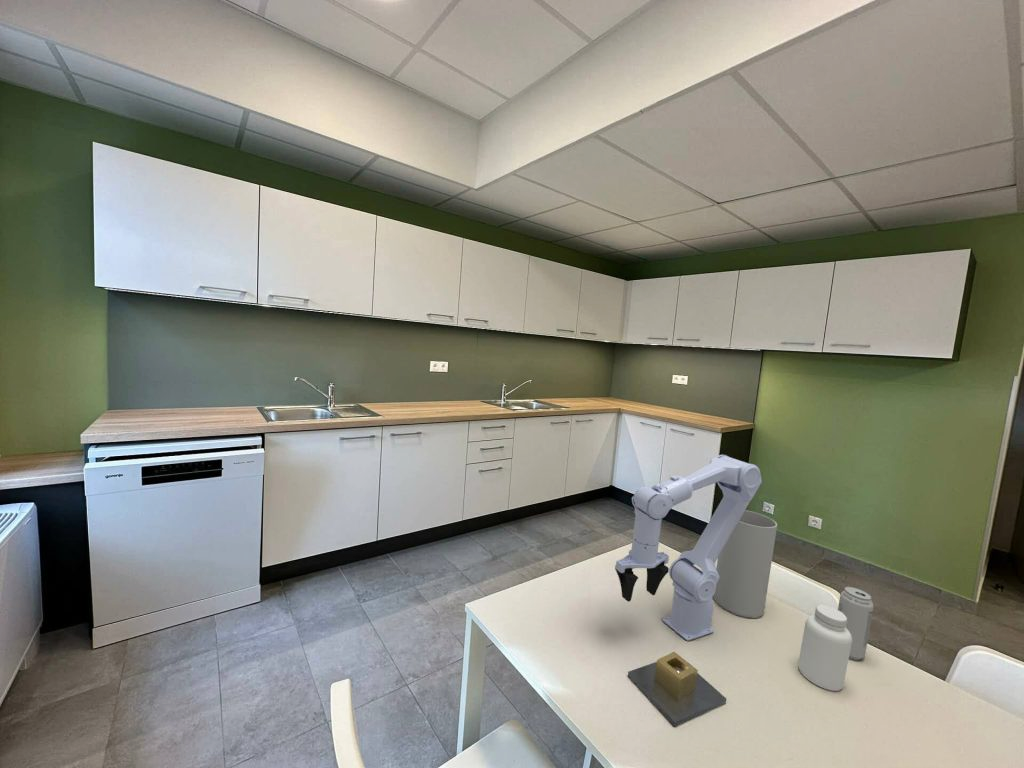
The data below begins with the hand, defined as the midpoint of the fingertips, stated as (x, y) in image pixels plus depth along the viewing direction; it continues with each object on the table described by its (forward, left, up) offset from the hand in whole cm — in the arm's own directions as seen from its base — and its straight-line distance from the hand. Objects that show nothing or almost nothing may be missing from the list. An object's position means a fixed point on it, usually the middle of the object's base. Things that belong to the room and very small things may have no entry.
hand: (638, 595), depth 94 cm
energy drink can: (-47, +22, -10) cm, 53 cm away
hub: (+3, +15, -9) cm, 17 cm away
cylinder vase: (-38, 0, -10) cm, 39 cm away
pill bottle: (-31, +24, -10) cm, 40 cm away
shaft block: (+3, +15, -10) cm, 18 cm away
